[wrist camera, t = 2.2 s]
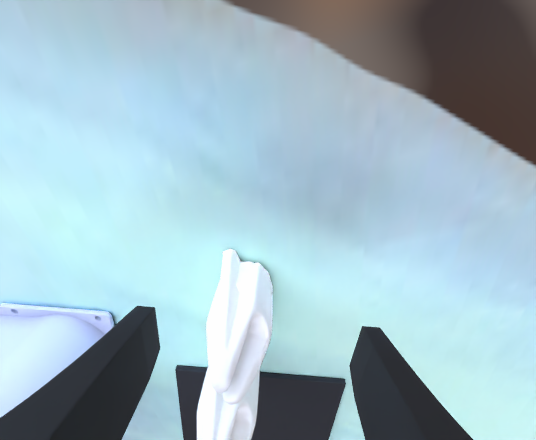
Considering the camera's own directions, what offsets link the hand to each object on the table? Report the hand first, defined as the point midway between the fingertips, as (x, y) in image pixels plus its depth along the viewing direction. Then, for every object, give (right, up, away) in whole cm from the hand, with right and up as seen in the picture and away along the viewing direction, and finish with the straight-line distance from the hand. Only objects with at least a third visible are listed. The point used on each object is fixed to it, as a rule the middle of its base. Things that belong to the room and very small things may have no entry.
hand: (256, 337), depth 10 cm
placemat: (-1, -19, +21) cm, 29 cm away
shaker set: (-2, -3, +14) cm, 14 cm away
